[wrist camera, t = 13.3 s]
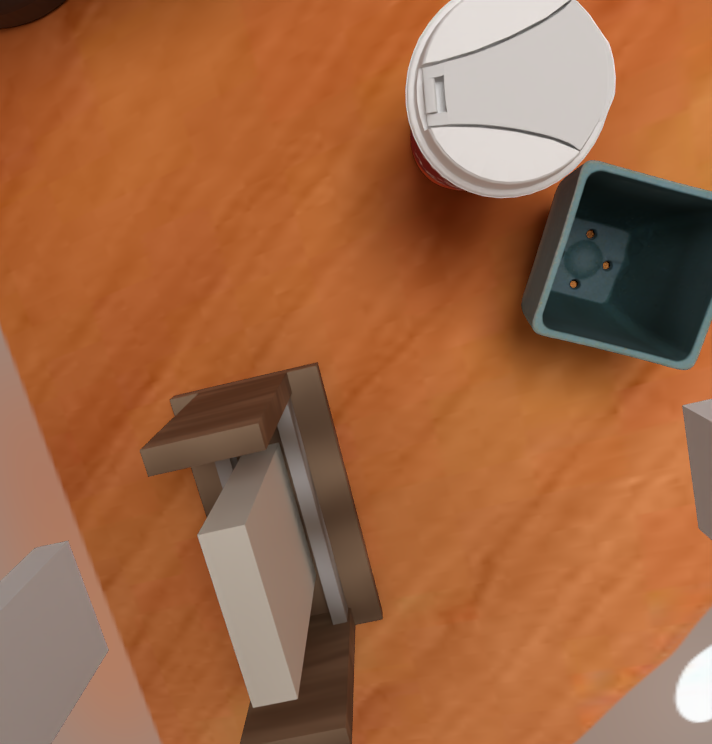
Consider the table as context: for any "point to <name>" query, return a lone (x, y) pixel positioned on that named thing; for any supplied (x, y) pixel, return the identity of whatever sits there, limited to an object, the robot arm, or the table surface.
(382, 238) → the table surface
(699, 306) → the flower pot
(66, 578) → the robot arm
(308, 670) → the track
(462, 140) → the coffee cup
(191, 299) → the table surface
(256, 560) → the door panel
